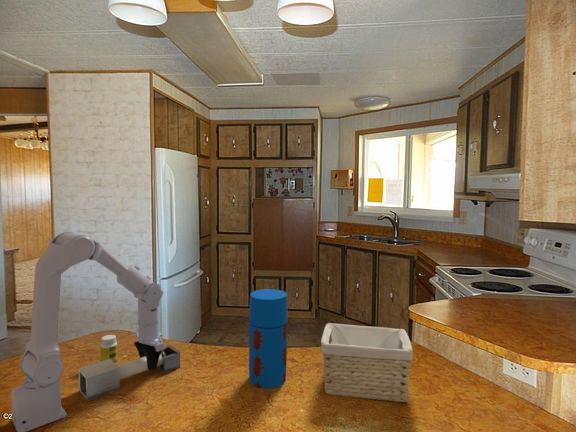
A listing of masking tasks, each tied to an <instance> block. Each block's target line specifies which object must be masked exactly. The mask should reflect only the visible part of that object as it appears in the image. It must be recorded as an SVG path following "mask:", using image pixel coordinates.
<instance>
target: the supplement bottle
mask: <svg viewBox="0 0 576 432" xmlns="http://www.w3.org/2000/svg"><path fill="white" fill-rule="evenodd" d="M99 347H100V348H99V350H100V353H99V354H100V362H102V361H105V360H108V359H110V360H112V361H113V362H114V363H115V364H116V365H117V363H118V342H117V336H116V335H115V334H108V335H104V336H102V337H101V344H100V345H99Z"/></svg>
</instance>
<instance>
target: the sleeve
mask: <svg viewBox="0 0 576 432" xmlns="http://www.w3.org/2000/svg"><path fill="white" fill-rule="evenodd" d="M117 365H118V364H117V363H116V364H115V363H114V362H113V361H112V360H110V359H108V360H105V361H102V362H101V361H98V362H96V363H92V364H89V365H85V366H83V367H79V368H78V392H80V394H81V395H82V396H83V398H84V399H85V400H86V401H87V402H90V401H93V400H95V399H98V398H101V397H103V396H107V395H109V394H111V393H114V392H117V391H119V390H120V389H121V387H120V386H121V383H120V381H121V379H120V370H119V367H118V366H117Z"/></svg>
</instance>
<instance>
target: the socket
mask: <svg viewBox="0 0 576 432" xmlns="http://www.w3.org/2000/svg"><path fill="white" fill-rule="evenodd" d="M162 351H164V352H165V354H166V356H165V357H163V365H160V366H157V369H158V370H159V371H162V372H163V373H164V374H166V373H169V372H172V371H174V369H175V370H176V369H180V368H181V351H180V350H178V349H177V348H176V347H174V346H172V345H171V344H167V345H166V347H165V346H164V350H162Z"/></svg>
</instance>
